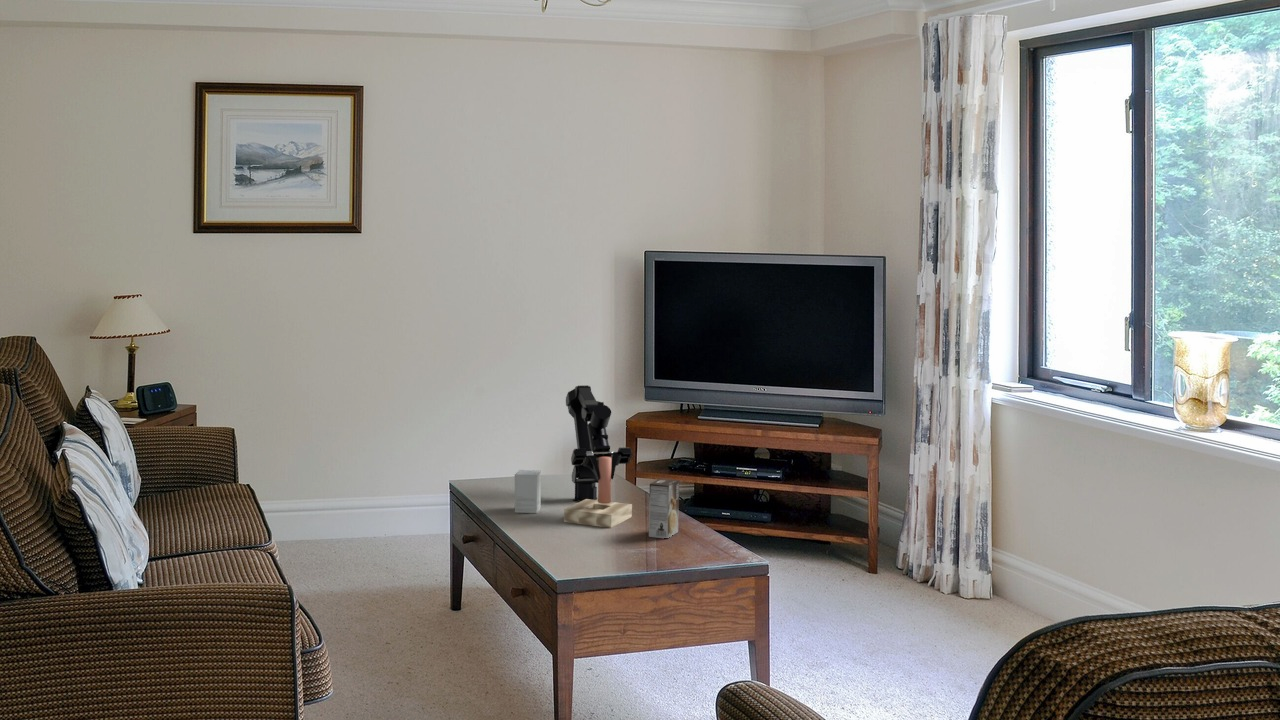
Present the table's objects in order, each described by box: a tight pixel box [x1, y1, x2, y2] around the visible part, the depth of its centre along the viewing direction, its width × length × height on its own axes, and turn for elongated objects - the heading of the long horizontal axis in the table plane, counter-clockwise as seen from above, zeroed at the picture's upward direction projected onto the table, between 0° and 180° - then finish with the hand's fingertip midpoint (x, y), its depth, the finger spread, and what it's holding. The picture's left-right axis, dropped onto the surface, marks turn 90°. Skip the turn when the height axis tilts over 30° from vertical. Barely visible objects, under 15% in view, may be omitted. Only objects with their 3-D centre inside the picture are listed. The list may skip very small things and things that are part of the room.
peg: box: [597, 457, 612, 504], centre depth 340 cm, size 4×4×14 cm
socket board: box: [563, 499, 633, 529], centre depth 341 cm, size 16×16×4 cm
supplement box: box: [514, 469, 542, 514], centre depth 350 cm, size 7×7×13 cm
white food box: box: [648, 478, 680, 539], centre depth 324 cm, size 9×6×16 cm
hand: (605, 479), depth 338 cm, fingers closed on peg, 4 cm apart
